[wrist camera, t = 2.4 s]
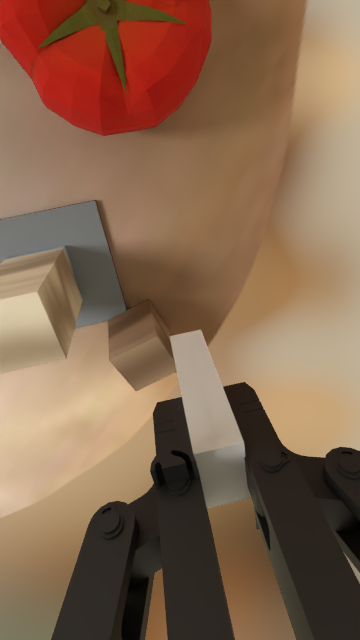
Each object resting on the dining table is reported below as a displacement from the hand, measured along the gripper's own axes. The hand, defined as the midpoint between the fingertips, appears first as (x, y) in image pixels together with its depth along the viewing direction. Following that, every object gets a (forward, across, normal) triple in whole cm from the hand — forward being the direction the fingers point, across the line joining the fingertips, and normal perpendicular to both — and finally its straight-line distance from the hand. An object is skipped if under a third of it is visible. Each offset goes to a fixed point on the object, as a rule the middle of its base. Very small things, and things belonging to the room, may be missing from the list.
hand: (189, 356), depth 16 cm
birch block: (+16, -10, 0) cm, 19 cm away
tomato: (+17, 0, +15) cm, 23 cm away
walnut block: (+16, -4, -7) cm, 18 cm away
